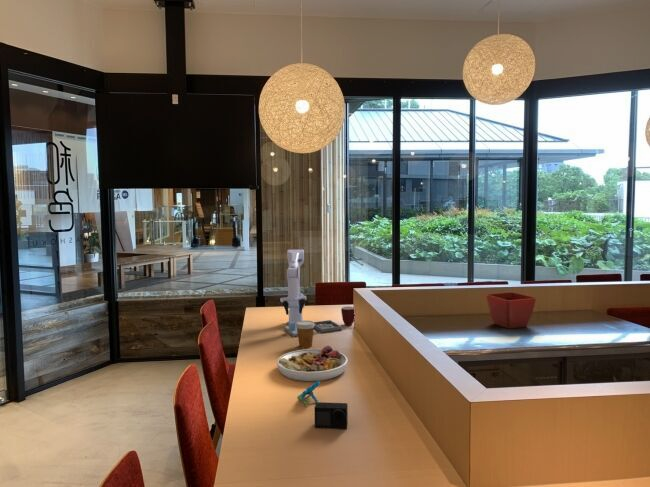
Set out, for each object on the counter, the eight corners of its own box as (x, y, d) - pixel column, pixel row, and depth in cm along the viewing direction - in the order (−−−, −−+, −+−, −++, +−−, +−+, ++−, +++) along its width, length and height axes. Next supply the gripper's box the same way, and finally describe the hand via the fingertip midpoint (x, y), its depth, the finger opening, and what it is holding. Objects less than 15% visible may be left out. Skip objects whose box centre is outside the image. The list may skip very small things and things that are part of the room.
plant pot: (512, 319, 283) (513, 291, 281) (536, 327, 265) (536, 297, 263) (485, 322, 277) (485, 294, 275) (507, 331, 259) (508, 300, 257)
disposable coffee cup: (317, 344, 242) (317, 320, 241) (311, 349, 233) (310, 325, 232) (300, 342, 245) (299, 319, 244) (293, 348, 236) (292, 324, 235)
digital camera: (313, 430, 152) (313, 409, 151) (316, 422, 157) (315, 401, 157) (346, 431, 151) (346, 410, 150) (347, 423, 156) (347, 402, 155)
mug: (361, 325, 277) (361, 308, 276) (353, 328, 270) (353, 310, 269) (347, 322, 283) (346, 305, 282) (338, 325, 277) (338, 308, 276)
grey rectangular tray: (311, 326, 276) (311, 322, 276) (330, 323, 281) (330, 320, 281) (321, 333, 261) (321, 329, 261) (341, 330, 266) (341, 326, 266)
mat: (284, 329, 270) (284, 328, 270) (306, 326, 275) (306, 325, 275) (294, 336, 255) (294, 335, 255) (316, 333, 260) (316, 332, 260)
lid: (284, 328, 270) (284, 319, 270) (305, 325, 275) (305, 317, 274) (294, 335, 255) (293, 326, 255) (315, 332, 260) (315, 323, 259)
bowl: (323, 389, 184) (323, 370, 184) (262, 375, 200) (262, 357, 200) (359, 366, 210) (359, 348, 209) (303, 355, 226) (303, 339, 225)
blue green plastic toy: (310, 388, 181) (322, 375, 175) (319, 401, 179) (332, 389, 173) (289, 402, 173) (301, 389, 167) (299, 416, 171) (312, 403, 165)
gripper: (282, 291, 256) (283, 316, 257) (308, 289, 261) (308, 313, 263) (279, 289, 262) (279, 313, 264) (303, 287, 268) (304, 311, 269)
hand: (293, 313), depth 264 cm, fingers open, 7 cm apart
